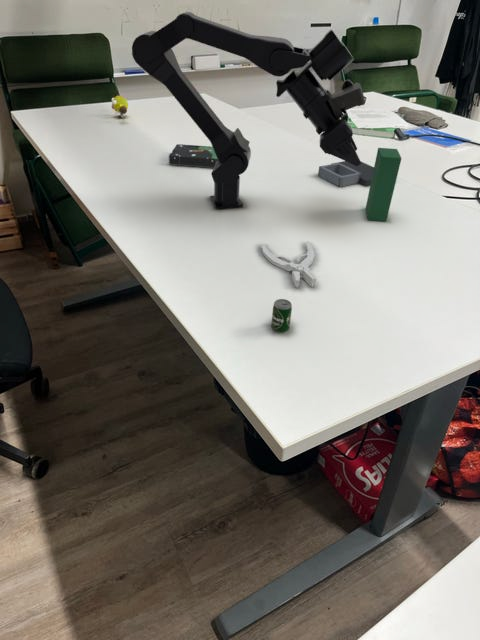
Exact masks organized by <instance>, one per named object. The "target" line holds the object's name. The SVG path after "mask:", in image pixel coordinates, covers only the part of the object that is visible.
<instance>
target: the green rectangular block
mask: <svg viewBox="0 0 480 640" xmlns="http://www.w3.org/2000/svg"><path fill="white" fill-rule="evenodd" d="M375 156H376V157H375V161H374V166H373V167H374V170H373V175H372V180H371V185H370V186H369V190H368V194H367V199H366V205H365V213H366V217H367V220H368V221H376V222H377V221H378V222H387V221H388V216H389V212H390V208H391V204H392V200H393V197H394V196H393V195H394V191H395V187H396V183H397V179H398V175H399V170H400V166H401V163H402V156H401V154H400V152H399V150H398V148H388V147H378V148H377V152H376V155H375Z"/></svg>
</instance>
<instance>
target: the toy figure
mask: <svg viewBox="0 0 480 640" xmlns="http://www.w3.org/2000/svg"><path fill="white" fill-rule="evenodd" d="M111 109H112V110H114V111H115V112H116V113H118V114H119V115H118V116H117V117H118V119H124V115H126V114H127V112H128V109H129V103H128V100H127V99H126V98H125V97H124V96H122V95H119V94H116V95H115V96H114V97H112V98H111Z"/></svg>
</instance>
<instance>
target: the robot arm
mask: <svg viewBox="0 0 480 640" xmlns="http://www.w3.org/2000/svg"><path fill="white" fill-rule="evenodd" d="M187 39H188V40H192V41H195V42H198V43H201V44H203V45H206V46H209V47H212V48H215V49H218V50H221V51H223V52H227V53H230V54H233V55H235V56H238V57H242V58H245V59H246V60H248V61H249V62H251V63H252V64H254V65H255V66H257V67H258V68H259V69H261V70H263V71H265V72H266V73H268V74H269V75H271V76H274V77H283V76H285V75H287V74H288V75H287V76H286V77H285V78H284V79H277V80H276V82H275V84H276V94H275V95H276V97H277V98H280V97H281V96H282V95H283V94H284V93H285V92H286V93H287V94H288V95H289V96H290V98H291V99H292V100H293V101H294V102H295V104H296V106H298V108H299V109H300V110H301V112H302V115H303V117H304V119H306V120H307V119H308V120H309V122H310V123H311V124H312V126H313V127H314V128H315V132H316V133H317V135H318V136H319V148H320V149H321V150H322V151H323V153H324V154H325V155H326V154H327V155H331V156H333V157H336V158H338V159H340V160H342V161H346V162H348V163H351V164H353V165H355V166H359V165H360V164H361V162H362V161H361V159H360V157H359V155H358V153H357V151H358V147H357V144H356V142H355V139H354V138H353V136H354V132H353V129H352V127H351V125H350V124H349V123H348V120H349V114H348V112H347V111H348V110H350V109H352V108H355V107H361V106H363V105H364V104H366V99H365V95H364V91H363V88H362V85H361V83H360V82H355V83H353V82H352V80H350V79H349V78H348V79H346V80H344V81H341V86H340V89H338V90H337V91H335V92H334V93H331V91H330V90H329V89H325V88H324V86H322V84H321V82H320V81H319V80H318V79H317V78H316V76H318V78H319V79H320V80H321V81H322V82H323V81H324V80H325V81H327V80H328V81H329V82H331V81H332V80H333V79H335V78H336V77H337V75H339V74H340V73H341V72H342V71H343V70H344V69H345V68H346V67H347V66H349V65H350V64H351V63H353V61H354V60H355V58H354V56H353V55H352V53H351V52H350V50H349V49H348V48H347V46H346V45H345V43H344V42H343V41H342V40H340V38H339V37H338V36H337V34H336V33H335V31H334V30H333V29H330V30H328V31H327V32H326V33H325V35H324V36H323V38H322V39H321V40H319V42H318V43H316V44H315V45H314V47H312V48H311V49H306V48H302V47H298V46H294V45H293V43H292V42H291V40H288V39H287V38H283V37H275V36H268V35H257V34H256V35H255V34H251V33H248V32H244V31H241V30H238V29H235V28H233V27H230V26H227V25H224V24H221V23H218V22H216V21H212V20H209V19H206V18H203V17H201V16H198V15H195V14H194V13H193V12H191V11H184V12H182V13H179V14H178V15H177V16H176V17H175V19H173V20H172V21H171V22H169V23H167V24H165V25H164V26H163V27H161V28H159V29H158V30H149V31H147V32H144V33H142V34H139V35H138V36H137V37H135V39H134V40H133V42H132V46H131V55H132V59H133V60H134V62H135V63H136V64H137V65H138V66H139V68H141V69H142V70H143V71H145V72H146V74H148V75H149V76H150V77H152V78H153V79H154V80H156V81H158V82H159V83H161V84H162V85H163V86H165V88H166V89H167V90H168V91H169V92H170V94H171V95H172V96H173V97H174V98H175V100H176V101H177V102H178V104H179V105H180V106H181V107H182V108H183V110H184V111H185V113H187V115H188V116H189V117H190V118H191V120H192V121H193V123H194V124H196V126H197V127H198V128H199V130H200V131H201V132H202V134H203V135H204V136H205V137H206V138H207V140H208V141H209V142H210V145H211V147H213V149H214V152H215V154H216V157H217V158H218V160H217V162H216V164H215V167H214V168H212V171H211V173H210V174H211V177H212V181H213V195H210V196H209V199H210V201H211V203H212V204H213V207H214V208H215V210H221V209H231V208H232V209H233V208H244V205H245V204H244V203H243V201H242V199H240V185H241V184H240V182H241V176H240V175H242V174H244V173H245V172H246V171H247V169H248V167H249V164H250V160H251V156H252V150H251V147H250V140H248V139H246V138H245V137H244V134H243V133H242V131H241V130H240V128H239V127H236V129H235V130H234V131H233V130H231V129H229V128H228V127H226V125H225V124H224V123H223V122H222V120H221V119H220V117H218V116H217V114H216V113H215V111H214V110H213V109H212V108H211V107H210V105H209V104H208V103H207V101H206V100H205V99H204V98H203V96H202V95H201V94H200V93H199V91H198V90H197V88H196V87H195V86H194V84H192V82H191V81H190V80H189V78H188V77H187V76H186V75H185V73H184V71H182V69H181V67H180V65H179V62H178V59H177V57H176V55H175V54H176V53H175V52H174V51H173V48H174V47H175V46H177V45H179V44H180V43H181V42H183V41H185V40H187ZM300 68H301V69H300ZM311 68H312V70H313V71H314V72H315V74H316V76H315V75H314V74H313V71H311V70H310V69H311ZM296 69H300V70H299V71H297V70H296ZM290 71H291V72H290Z"/></svg>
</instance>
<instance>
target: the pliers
mask: <svg viewBox="0 0 480 640" xmlns="http://www.w3.org/2000/svg"><path fill="white" fill-rule="evenodd" d="M304 245H305V248H306V253H304V254H301V255H300V256H298V257H297V259H296V262H295V263H294V262H293V261H292V260H291V259H290V258H288V257H285V256H282V255H277V254H273V253H272V252H271V251H270V250H269V249H268V247H267V246H266V244H265V243H261V252H262V255H263V256H264V258H266V260H267V261H269V263H271V265H274V266H275V267H278V268H280V269H283V270H284V271H286V272H291V280H292V282H293V285H294V288H296V289H297V288H300V282H301V279H302V280H304V281H305V282H306V283H307V285H309V286H310V287H311V288H313V287H315V286H316V280H317V278H316V277H315V275H314V274H313V272H312V271H311V269H310V268H309V267H311V266H312V265H313V263H314V260H315V250H314V248H313V246H312V245H311V243H310V242H309V241H305V243H304ZM299 262H300V263H299Z"/></svg>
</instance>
